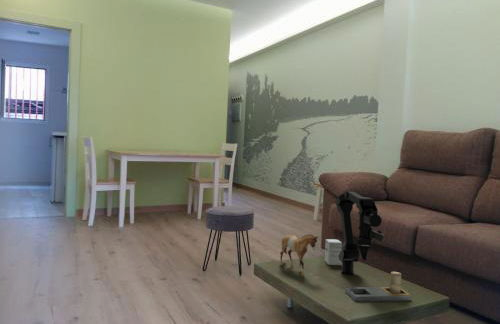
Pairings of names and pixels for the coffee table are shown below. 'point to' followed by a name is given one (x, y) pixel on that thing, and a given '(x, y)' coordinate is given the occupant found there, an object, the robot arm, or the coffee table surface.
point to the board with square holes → (376, 294)
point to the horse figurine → (298, 247)
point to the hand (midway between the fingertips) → (364, 258)
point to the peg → (395, 283)
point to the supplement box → (332, 251)
